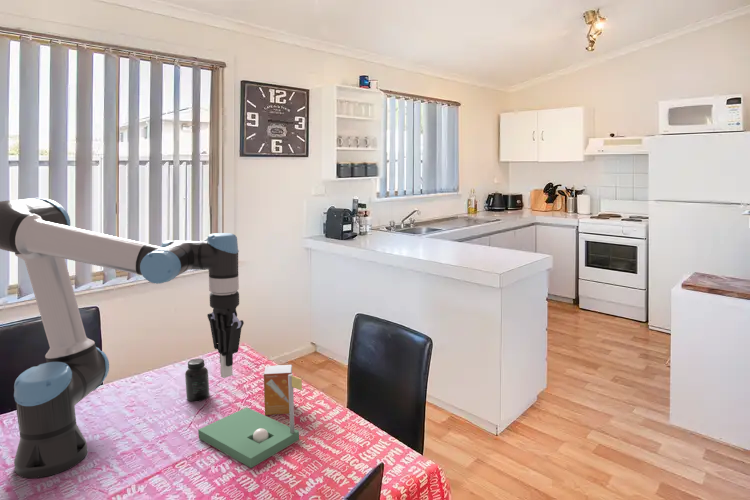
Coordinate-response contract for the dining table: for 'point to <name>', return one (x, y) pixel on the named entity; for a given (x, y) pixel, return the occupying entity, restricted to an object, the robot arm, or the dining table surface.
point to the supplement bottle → (197, 380)
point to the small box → (276, 389)
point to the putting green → (252, 432)
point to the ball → (260, 435)
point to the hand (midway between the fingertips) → (226, 375)
